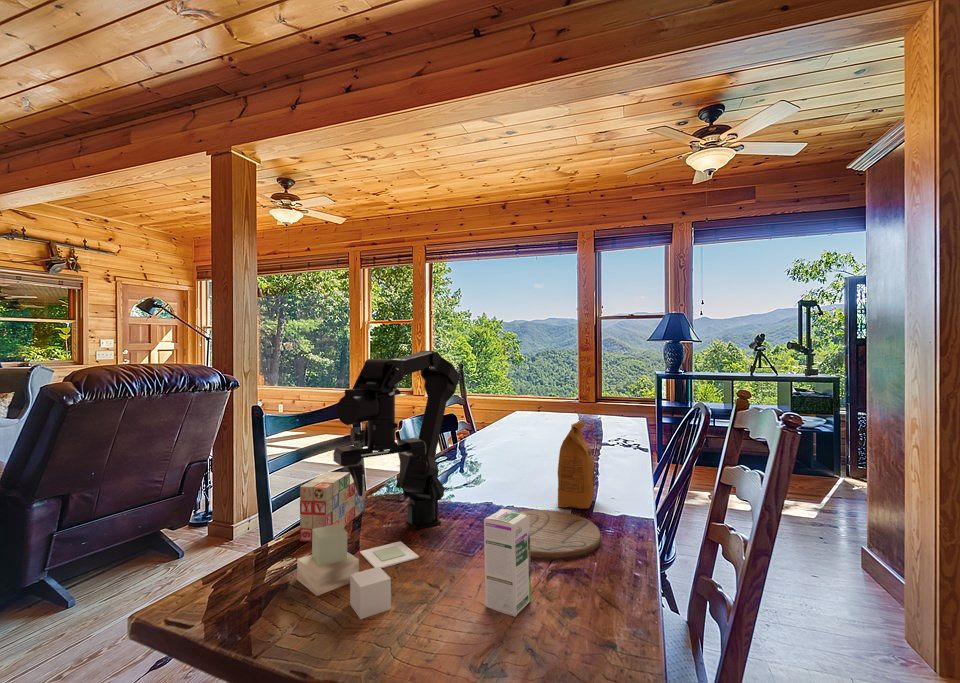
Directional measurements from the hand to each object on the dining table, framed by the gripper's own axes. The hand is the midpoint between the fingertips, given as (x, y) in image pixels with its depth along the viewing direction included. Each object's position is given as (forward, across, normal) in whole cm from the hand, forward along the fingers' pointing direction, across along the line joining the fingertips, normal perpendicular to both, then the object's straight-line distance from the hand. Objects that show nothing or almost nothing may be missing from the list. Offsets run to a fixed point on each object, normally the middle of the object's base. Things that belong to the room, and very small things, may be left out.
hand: (381, 491), depth 97 cm
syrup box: (+12, -9, +32) cm, 35 cm away
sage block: (+8, +13, +7) cm, 17 cm away
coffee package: (+12, -55, +3) cm, 56 cm away
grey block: (+12, +10, +20) cm, 25 cm away
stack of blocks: (+12, +4, -19) cm, 23 cm away
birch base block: (+12, +13, +7) cm, 19 cm away
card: (+12, 0, +4) cm, 13 cm away
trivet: (+13, -33, +14) cm, 38 cm away
